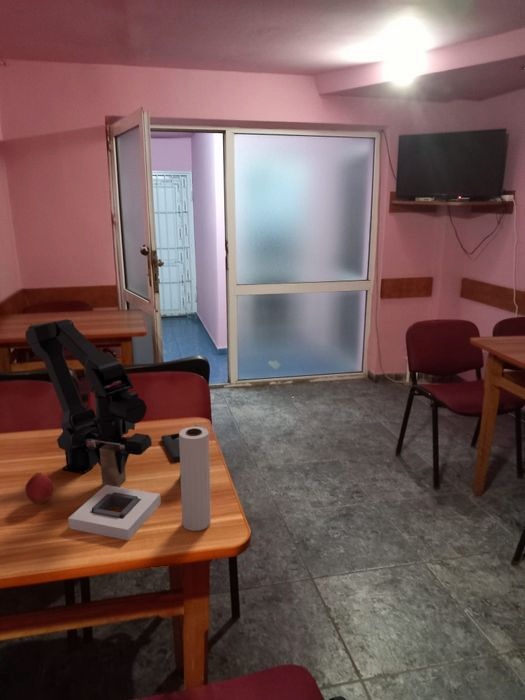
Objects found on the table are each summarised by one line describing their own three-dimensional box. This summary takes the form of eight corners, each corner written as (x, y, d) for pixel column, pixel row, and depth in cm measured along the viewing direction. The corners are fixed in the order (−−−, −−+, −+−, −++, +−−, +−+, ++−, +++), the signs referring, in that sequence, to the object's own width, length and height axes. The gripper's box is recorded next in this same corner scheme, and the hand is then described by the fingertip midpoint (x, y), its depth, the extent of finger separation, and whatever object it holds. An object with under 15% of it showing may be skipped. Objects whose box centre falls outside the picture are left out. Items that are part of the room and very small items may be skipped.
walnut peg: (102, 486, 125) (99, 448, 123) (111, 478, 129) (108, 441, 126) (117, 488, 124) (114, 450, 122) (125, 480, 128) (123, 443, 125)
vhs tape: (202, 458, 141) (202, 452, 140) (173, 464, 138) (173, 457, 137) (188, 437, 153) (187, 431, 153) (161, 442, 150) (161, 435, 150)
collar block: (69, 528, 109) (68, 515, 108) (106, 494, 122) (105, 482, 121) (128, 540, 105) (127, 527, 104) (160, 503, 118) (160, 492, 117)
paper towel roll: (198, 535, 107) (196, 440, 101) (176, 526, 110) (172, 433, 104) (219, 518, 113) (218, 427, 107) (197, 509, 116) (195, 421, 110)
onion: (28, 513, 114) (24, 480, 112) (26, 500, 119) (22, 469, 117) (56, 506, 117) (52, 474, 115) (53, 494, 122) (49, 463, 120)
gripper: (160, 404, 127) (163, 462, 131) (94, 396, 132) (98, 452, 136) (137, 422, 116) (141, 484, 121) (66, 412, 121) (72, 472, 126)
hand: (113, 472), depth 126 cm, fingers closed on walnut peg, 4 cm apart
